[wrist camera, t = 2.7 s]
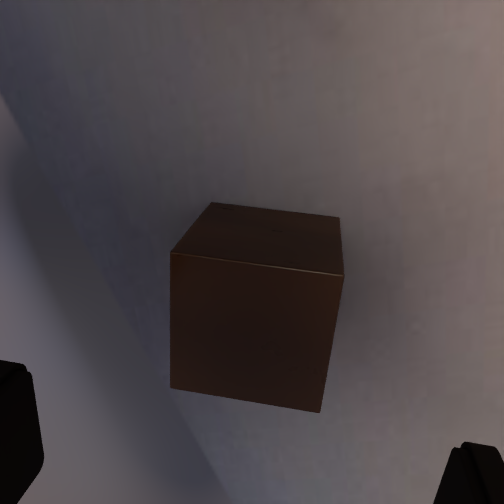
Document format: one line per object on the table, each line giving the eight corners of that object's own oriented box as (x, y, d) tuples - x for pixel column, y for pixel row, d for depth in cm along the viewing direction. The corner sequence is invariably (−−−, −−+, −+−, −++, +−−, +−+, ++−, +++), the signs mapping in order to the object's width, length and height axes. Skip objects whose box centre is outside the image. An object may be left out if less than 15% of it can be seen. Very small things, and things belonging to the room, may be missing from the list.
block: (206, 311, 19) (169, 388, 15) (210, 201, 17) (169, 251, 13) (321, 328, 19) (320, 414, 14) (339, 217, 17) (344, 274, 12)
